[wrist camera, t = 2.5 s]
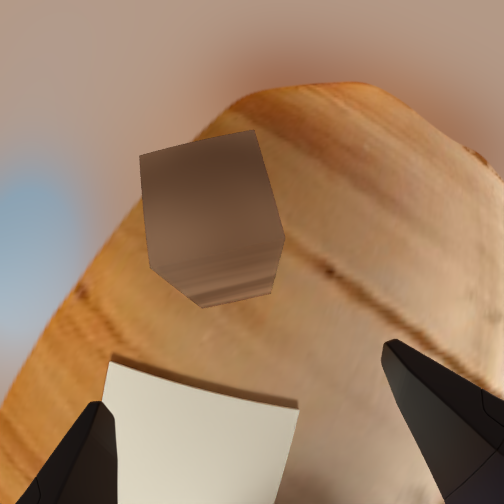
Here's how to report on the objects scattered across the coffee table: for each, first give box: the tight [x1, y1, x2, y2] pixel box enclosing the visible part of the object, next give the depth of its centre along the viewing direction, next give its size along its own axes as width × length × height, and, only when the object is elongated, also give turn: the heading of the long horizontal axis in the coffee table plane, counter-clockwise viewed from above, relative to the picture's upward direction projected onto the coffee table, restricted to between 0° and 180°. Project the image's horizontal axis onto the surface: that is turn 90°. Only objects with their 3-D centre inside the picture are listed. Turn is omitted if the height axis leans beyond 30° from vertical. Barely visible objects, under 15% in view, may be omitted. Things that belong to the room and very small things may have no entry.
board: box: [102, 361, 300, 504], centre depth 19 cm, size 14×14×1 cm
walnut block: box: [139, 130, 285, 308], centre depth 18 cm, size 5×5×12 cm
